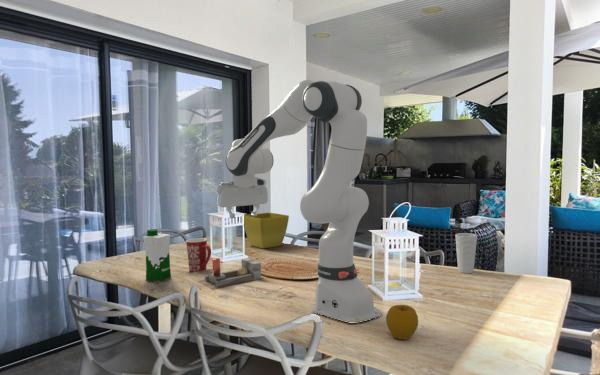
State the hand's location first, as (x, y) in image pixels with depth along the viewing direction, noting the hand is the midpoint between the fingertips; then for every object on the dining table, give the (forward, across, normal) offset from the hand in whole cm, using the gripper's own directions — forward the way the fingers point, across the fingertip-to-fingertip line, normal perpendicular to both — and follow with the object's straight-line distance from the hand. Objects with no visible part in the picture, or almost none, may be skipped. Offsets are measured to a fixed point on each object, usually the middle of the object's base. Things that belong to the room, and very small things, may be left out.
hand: (243, 217), depth 167 cm
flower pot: (+27, +42, +55) cm, 75 cm away
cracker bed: (+26, -5, +2) cm, 26 cm away
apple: (+24, +10, -72) cm, 76 cm away
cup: (+25, +80, -44) cm, 95 cm away
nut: (+24, +1, +2) cm, 25 cm away
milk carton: (+27, -25, +27) cm, 45 cm away
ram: (+24, -11, +2) cm, 27 cm away
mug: (+27, -7, +27) cm, 39 cm away
